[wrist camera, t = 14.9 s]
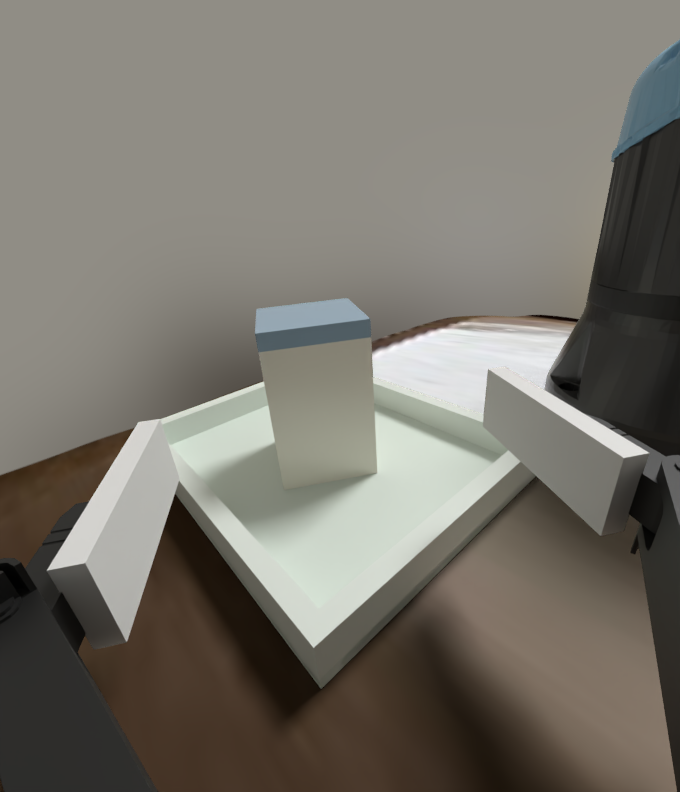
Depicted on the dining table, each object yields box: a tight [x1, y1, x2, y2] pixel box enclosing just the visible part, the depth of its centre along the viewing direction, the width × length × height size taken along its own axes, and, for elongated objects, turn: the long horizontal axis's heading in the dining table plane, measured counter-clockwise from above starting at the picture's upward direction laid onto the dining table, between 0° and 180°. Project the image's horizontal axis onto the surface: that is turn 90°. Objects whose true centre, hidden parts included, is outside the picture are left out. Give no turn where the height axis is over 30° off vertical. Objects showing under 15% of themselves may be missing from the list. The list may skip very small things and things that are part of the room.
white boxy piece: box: [255, 298, 377, 490], centre depth 24 cm, size 6×6×10 cm
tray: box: [160, 377, 536, 689], centre depth 26 cm, size 18×22×2 cm
